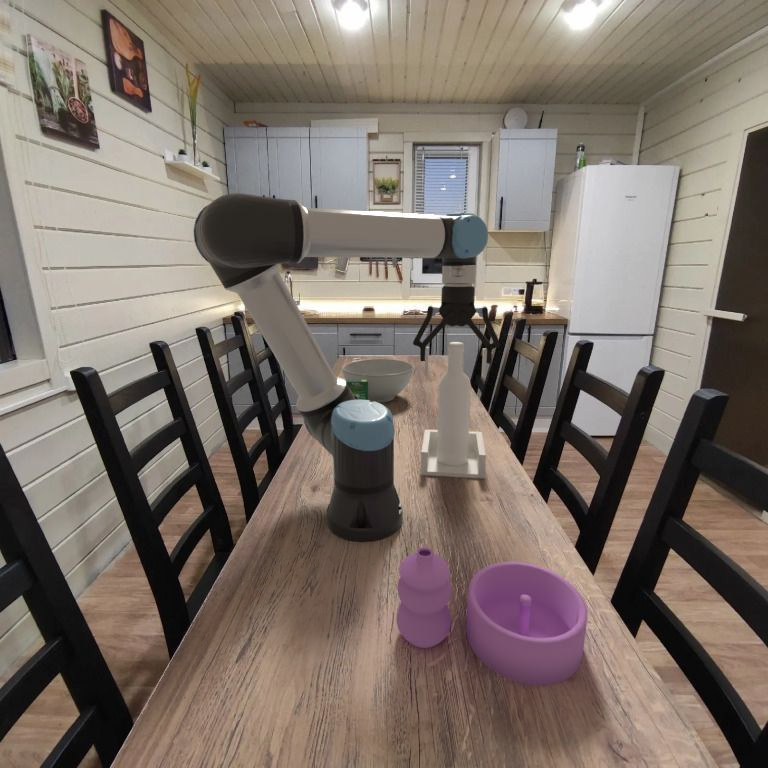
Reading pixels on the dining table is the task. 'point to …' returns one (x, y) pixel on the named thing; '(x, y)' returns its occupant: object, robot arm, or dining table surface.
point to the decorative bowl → (380, 376)
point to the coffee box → (359, 388)
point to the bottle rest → (467, 470)
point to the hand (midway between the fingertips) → (454, 375)
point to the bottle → (454, 410)
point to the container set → (498, 616)
